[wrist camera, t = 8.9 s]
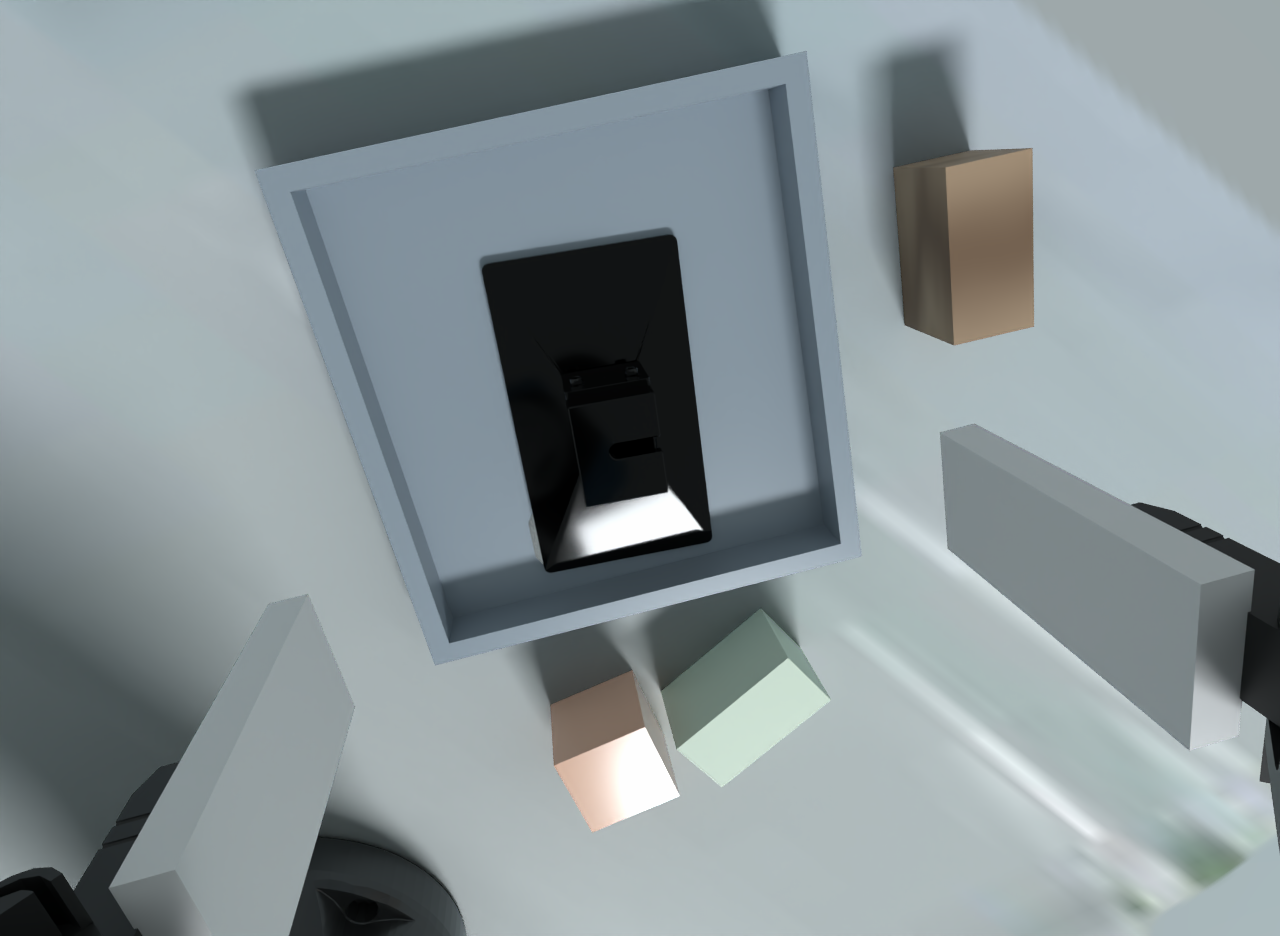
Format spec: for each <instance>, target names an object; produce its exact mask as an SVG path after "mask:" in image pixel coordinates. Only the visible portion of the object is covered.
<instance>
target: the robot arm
mask: <svg viewBox="0 0 1280 936" xmlns="http://www.w3.org/2000/svg"><path fill="white" fill-rule="evenodd" d="M940 440H941V455H942V470H943V485H944V500H945V515H946V529H947V544H948V549H949V550H950V551H951V552H953V553H954V554H955V555H956V556H957V557H959V558H960V559H961V560H962V561H963V562H965V563H966V564H967V565H968V566H969V567H971V568H972V569H973V570H974V571H975V572H976V573H978V574H979V575H980V576H981V577H982V578H984V579H985V580H986V581H987V582H988V583H990V584H991V585H992V586H993V587H994V588H996V589H997V590H998V591H999V592H1000V593H1002V594H1003V595H1004V596H1005V597H1006V598H1008V599H1009V600H1010V601H1011V602H1012V603H1014V604H1015V605H1016V606H1017V607H1018V608H1020V609H1021V610H1022V611H1023V612H1024V613H1026V614H1027V615H1028V616H1029V617H1030V618H1032V619H1033V620H1034V621H1035V622H1036V623H1037V624H1039V625H1040V626H1041V627H1042V628H1043V629H1045V630H1046V631H1047V632H1048V633H1049V634H1051V635H1052V636H1053V637H1054V638H1055V639H1057V640H1058V641H1059V642H1060V643H1061V644H1063V645H1064V646H1065V647H1066V648H1067V649H1069V650H1070V651H1071V652H1072V653H1073V654H1075V655H1076V656H1077V657H1078V658H1079V659H1081V660H1082V661H1083V662H1084V663H1085V664H1087V665H1088V666H1089V667H1090V668H1091V669H1092V670H1094V671H1095V672H1096V673H1097V674H1098V675H1100V676H1101V677H1102V678H1103V679H1104V680H1106V681H1107V682H1108V683H1109V684H1110V685H1112V686H1113V687H1114V688H1115V689H1116V690H1118V691H1119V692H1120V693H1121V694H1122V695H1124V696H1125V697H1126V698H1127V699H1128V700H1130V701H1131V702H1132V703H1133V704H1134V705H1136V706H1137V707H1138V708H1139V709H1140V710H1142V711H1143V712H1144V713H1145V714H1146V715H1148V716H1149V717H1150V718H1151V719H1152V720H1153V721H1155V722H1156V723H1157V724H1158V725H1159V726H1161V727H1162V728H1163V729H1164V730H1165V731H1167V732H1168V733H1169V734H1170V735H1171V736H1173V737H1174V738H1175V739H1176V740H1177V741H1179V742H1180V743H1181V744H1182V745H1183V746H1185V747H1186V748H1187V749H1188V750H1189V751H1190V750H1194V749H1197V748H1200V747H1204V746H1207V745H1211V744H1214V743H1217V742H1221V741H1224V740H1228V739H1231V738H1234V737H1238V736H1239V728H1240V718H1241V708H1242V701H1244V702H1245V703H1247V704H1248V705H1249V706H1251V707H1252V708H1254V709H1255V710H1256V711H1258V712H1259V713H1261V714H1262V715H1263V716H1265V717H1266V718H1267V720H1266V729H1265V738H1264V747H1263V756H1262V765H1261V774H1260V781H1261V782H1266V783H1270V785H1271V792H1272V799H1273V807H1274V814H1275V822H1276V829H1277V836H1278V844H1279V850H1280V563H1278V562H1276V561H1274V560H1272V559H1270V558H1268V557H1266V556H1264V555H1262V554H1260V553H1258V552H1256V551H1254V550H1252V549H1250V548H1248V547H1246V546H1244V545H1242V544H1240V543H1238V542H1236V541H1234V540H1232V539H1230V538H1227V539H1224V537H1223V535H1221V534H1219V533H1217V532H1215V531H1213V530H1211V529H1209V528H1207V527H1204V528H1202V526H1201V524H1199V523H1197V522H1195V521H1193V520H1191V519H1189V518H1187V517H1185V516H1183V515H1181V514H1179V513H1177V512H1175V511H1172V510H1168V509H1164V508H1160V507H1156V506H1152V505H1148V504H1144V503H1136V504H1132V505H1130V504H1128V503H1126V502H1124V501H1122V500H1120V499H1118V498H1116V497H1114V496H1112V495H1110V494H1109V493H1107V492H1105V491H1103V490H1101V489H1099V488H1097V487H1095V486H1093V485H1091V484H1089V483H1087V482H1086V481H1084V480H1082V479H1080V478H1078V477H1076V476H1074V475H1072V474H1070V473H1068V472H1066V471H1064V470H1062V469H1061V468H1059V467H1057V466H1055V465H1053V464H1051V463H1049V462H1047V461H1045V460H1043V459H1041V458H1039V457H1038V456H1036V455H1034V454H1032V453H1030V452H1028V451H1026V450H1024V449H1022V448H1020V447H1018V446H1016V445H1015V444H1013V443H1011V442H1009V441H1007V440H1005V439H1003V438H1001V437H999V436H997V435H995V434H993V433H991V432H990V431H988V430H986V429H984V428H982V427H980V426H978V425H976V424H971V425H967V426H964V427H960V428H956V429H952V430H948V431H944V432H940ZM354 709H355V706H354V703H353V701H352V699H351V696H350V694H349V691H348V689H347V687H346V684H345V682H344V679H343V677H342V675H341V672H340V670H339V667H338V665H337V663H336V660H335V658H334V655H333V653H332V651H331V648H330V646H329V643H328V641H327V639H326V636H325V634H324V631H323V629H322V627H321V624H320V622H319V619H318V617H317V615H316V612H315V610H314V607H313V605H312V603H311V600H310V598H309V595H308V594H306V595H302V596H298V597H294V598H290V599H287V600H283V601H279V602H275V603H271V604H268V606H267V608H266V610H265V611H264V613H263V615H262V617H261V618H260V620H259V622H258V624H257V626H256V627H255V629H254V631H253V633H252V634H251V636H250V638H249V640H248V642H247V643H246V645H245V647H244V649H243V650H242V652H241V654H240V656H239V658H238V659H237V661H236V663H235V665H234V666H233V668H232V670H231V672H230V673H229V675H228V677H227V679H226V681H225V682H224V684H223V686H222V688H221V689H220V691H219V693H218V695H217V697H216V698H215V700H214V702H213V704H212V705H211V707H210V709H209V711H208V713H207V714H206V716H205V718H204V720H203V721H202V723H201V725H200V727H199V729H198V730H197V732H196V734H195V736H194V737H193V739H192V741H191V743H190V744H189V746H188V748H187V750H186V752H185V753H184V755H183V757H182V759H181V760H180V762H178V763H174V764H170V765H166V766H163V767H160V768H159V769H158V770H157V771H156V772H155V773H154V774H153V775H152V776H151V777H150V778H149V779H148V780H147V781H146V782H145V783H144V784H143V785H142V786H141V787H140V788H139V789H138V790H136V791H135V792H134V793H133V794H132V796H131V798H130V799H129V801H128V803H127V804H126V806H125V808H124V809H123V811H122V813H121V814H120V816H119V817H118V819H117V821H116V826H115V827H112V829H111V831H110V832H109V834H108V835H107V837H106V839H105V840H104V842H103V844H102V845H103V849H100V850H98V852H97V853H96V855H95V857H94V858H93V860H92V862H91V863H90V865H89V867H88V868H87V870H86V871H85V873H84V875H83V876H82V878H81V880H80V881H79V883H78V885H77V886H76V888H75V890H74V891H73V890H72V888H71V886H70V885H69V883H68V882H67V880H66V879H65V877H64V876H63V874H62V873H60V872H59V871H57V870H56V869H54V868H52V867H49V868H34V869H31V870H28V871H25V872H22V873H19V874H16V875H13V876H11V877H9V878H7V879H5V880H3V881H1V882H0V936H466V930H465V926H464V923H463V920H462V917H461V915H460V913H459V910H458V908H457V907H456V905H455V903H454V902H453V900H452V899H451V897H450V896H449V895H448V893H447V892H446V891H445V890H444V889H443V887H442V886H441V885H440V884H439V883H438V882H437V881H435V880H434V879H433V878H432V877H431V876H430V875H428V874H427V873H426V872H424V871H423V870H422V869H420V868H419V867H417V866H416V865H414V864H412V863H411V862H409V861H407V860H405V859H403V858H401V857H399V856H397V855H395V854H392V853H390V852H388V851H385V850H382V849H379V848H376V847H373V846H369V845H366V844H361V843H357V842H352V841H346V840H340V839H331V838H317V836H318V833H319V829H320V826H321V823H322V819H323V816H324V812H325V809H326V805H327V802H328V798H329V795H330V791H331V788H332V785H333V781H334V778H335V774H336V771H337V767H338V764H339V760H340V757H341V753H342V750H343V747H344V743H345V740H346V736H347V733H348V729H349V726H350V722H351V719H352V715H353V712H354Z"/></svg>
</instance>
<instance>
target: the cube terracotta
mask: <svg viewBox="0 0 1280 936" xmlns="http://www.w3.org/2000/svg"><path fill="white" fill-rule="evenodd" d="M550 706H551V723H552V741H553V759H554V767H555V768H556V770H557V772H558V774H559V775H560V777H561V779H562V781H563V782H564V784H565V786H566V788H567V789H568V791H569V793H570V795H571V796H572V798H573V800H574V801H575V803H576V805H577V807H578V808H579V810H580V812H581V814H582V815H583V817H584V819H585V821H586V822H587V824H588V826H589V828H590V829H591V831H592V833H593V832H595V831H598V830H600V829H602V828H605V827H607V826H609V825H612V824H614V823H617V822H619V821H621V820H624V819H626V818H628V817H631V816H633V815H636V814H638V813H640V812H643V811H645V810H647V809H650V808H652V807H654V806H657V805H659V804H662V803H664V802H666V801H669V800H671V799H673V798H676V797H678V796H679V792H678V788H677V784H676V780H675V776H674V772H673V768H672V764H671V761H670V757H669V753H668V749H667V745H666V741H665V737H664V734H663V732H662V730H661V728H660V726H659V724H658V722H657V719H656V717H655V715H654V713H653V711H652V709H651V707H650V705H649V703H648V701H647V699H646V697H645V695H644V693H643V691H642V689H641V687H640V685H639V683H638V681H637V679H636V677H635V675H634V673H633V671H632V670H631V671H629V672H626V673H624V674H622V675H619V676H617V677H615V678H612V679H610V680H608V681H605V682H603V683H601V684H598V685H596V686H593V687H591V688H589V689H586V690H584V691H582V692H579V693H577V694H575V695H572V696H570V697H568V698H565V699H563V700H560V701H558V702H556V703H553V704H551V705H550Z"/></svg>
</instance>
